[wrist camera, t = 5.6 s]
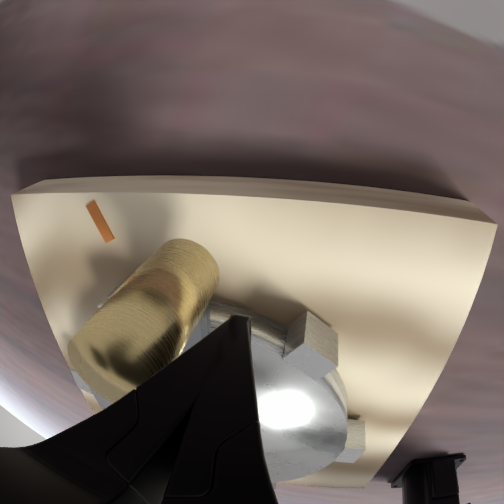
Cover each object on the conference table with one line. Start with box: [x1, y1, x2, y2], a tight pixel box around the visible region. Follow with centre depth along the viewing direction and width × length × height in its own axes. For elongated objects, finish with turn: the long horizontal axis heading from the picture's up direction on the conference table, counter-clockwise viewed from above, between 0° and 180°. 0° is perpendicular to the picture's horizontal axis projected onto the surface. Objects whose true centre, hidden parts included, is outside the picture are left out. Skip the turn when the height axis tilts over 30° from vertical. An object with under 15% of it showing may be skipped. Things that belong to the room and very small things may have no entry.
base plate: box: [11, 175, 498, 488], centre depth 18 cm, size 24×24×3 cm
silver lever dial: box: [67, 238, 366, 489], centre depth 14 cm, size 19×16×7 cm
